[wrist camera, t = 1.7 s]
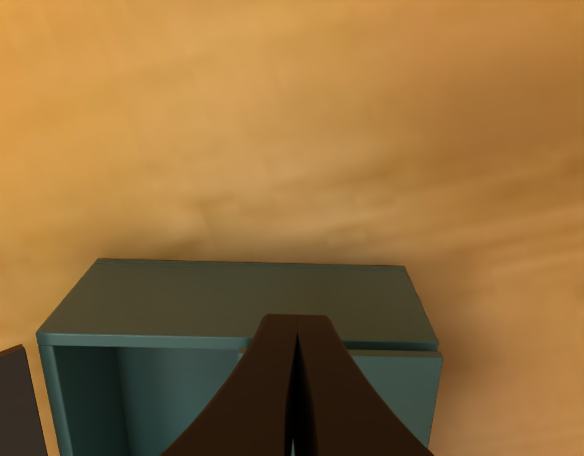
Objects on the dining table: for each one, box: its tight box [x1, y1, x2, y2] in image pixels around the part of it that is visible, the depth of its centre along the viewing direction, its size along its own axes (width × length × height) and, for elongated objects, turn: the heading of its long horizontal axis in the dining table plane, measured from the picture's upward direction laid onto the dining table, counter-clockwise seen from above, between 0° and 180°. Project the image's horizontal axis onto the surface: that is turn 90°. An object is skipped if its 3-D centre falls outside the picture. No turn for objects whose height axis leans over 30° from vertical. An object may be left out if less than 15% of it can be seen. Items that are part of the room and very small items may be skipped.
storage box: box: [36, 259, 443, 456], centre depth 21 cm, size 13×13×6 cm
